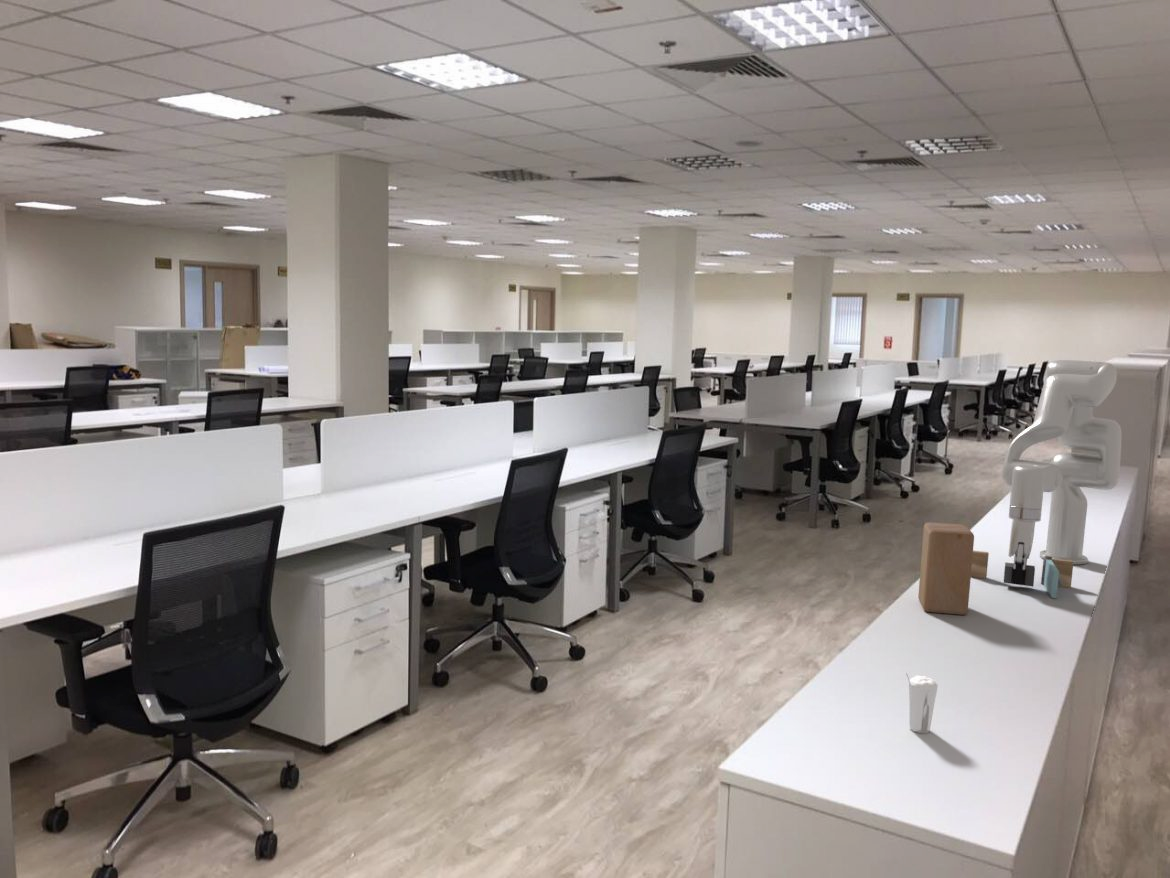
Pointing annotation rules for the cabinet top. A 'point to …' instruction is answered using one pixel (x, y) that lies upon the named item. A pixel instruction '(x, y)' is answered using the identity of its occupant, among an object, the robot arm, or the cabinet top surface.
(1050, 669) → the cabinet top surface
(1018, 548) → the robot arm
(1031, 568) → the charcoal brick
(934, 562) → the wooden block
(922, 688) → the milkshake
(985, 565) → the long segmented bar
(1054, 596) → the door
